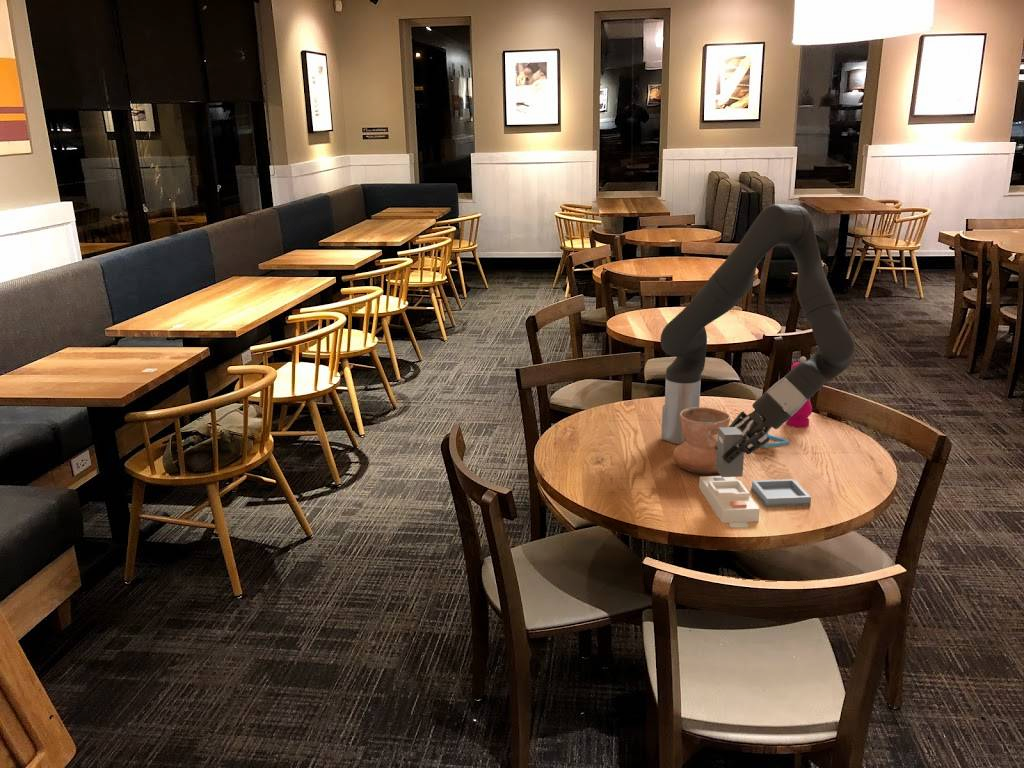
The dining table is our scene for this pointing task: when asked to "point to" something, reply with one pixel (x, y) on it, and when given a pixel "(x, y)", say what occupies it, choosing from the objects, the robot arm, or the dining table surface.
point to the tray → (781, 493)
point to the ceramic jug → (700, 439)
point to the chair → (781, 440)
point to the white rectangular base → (729, 499)
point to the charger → (725, 443)
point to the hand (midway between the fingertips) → (721, 455)
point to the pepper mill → (804, 412)
